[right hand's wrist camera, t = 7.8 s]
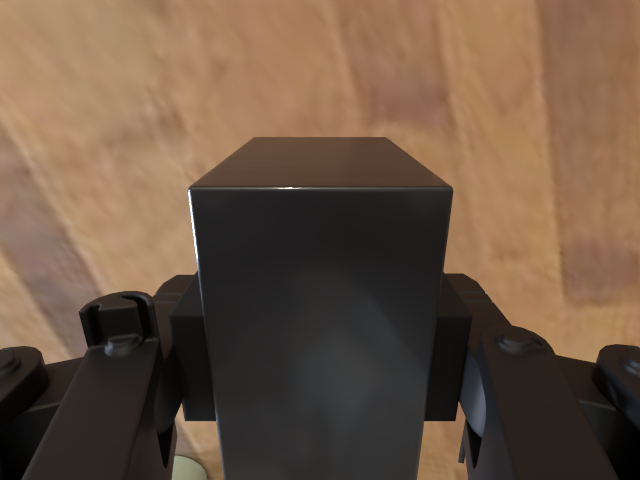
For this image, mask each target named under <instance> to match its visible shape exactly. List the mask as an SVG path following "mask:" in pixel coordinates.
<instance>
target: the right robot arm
mask: <svg viewBox="0 0 640 480" xmlns="http://www.w3.org/2000/svg"><path fill="white" fill-rule="evenodd" d="M79 315H80V319H81V323H82V326H83V330H84V334H85V338H86V342H87V346H88V350H87V352H86V354H85V356H84V357H81V358H77V359H72V360H67V361H62V362H57V363H52V364H47V365H45V363H44V360H43V357H42V353H41V352H40V351H39V350H38V349H36V348H34V347H27V346H20V347H9V348H4V349H2V350H0V480H172V473H173V465H174V457H175V449H176V441H177V432H176V425H175V420H174V419H175V417H176V414H177V412H178V410H179V407H180V405H181V403H182V406H183V412H184V418H185V421H216V413H215V405H214V397H213V389H212V381H211V373H210V365H209V357H208V349H207V341H206V333H205V325H204V317H203V309H202V301H201V293H200V285H199V277H198V271H197V272H196V274H195V275H176V276H175V277H173V278H171V279H170V280H168V281H166V282H165V283H163V284H162V286H161V287H160V288H159V289H158V291H157V292H156V293H155V295H154V296H153V297H151V296H150V295H149V294H147V293H144V292H139V291H123V292H118V293H112V294H109V295H106V296H103V297H100V298H97V299H95V300H93V301H92V302H90V303H88V304H86V305H85V306H84V307H83V308H82V309H81V310H80V311H79ZM458 402H459V403H460V405H461V407H462V409H463V412H464V414H465V416H466V420H465V425H464V431H463V437H462V442H461V448H460V453H459V461H458V462H459V463H464V459H465V456H466V464H467V472H468V480H640V348H639V347H637V346H631V345H630V346H629V345H619V344H615V345H608V346H605V347H604V348H602V349H601V350H600V352H599V355H598V358H597V361H596V363H593V362H588V361H582V360H577V359H572V358H567V357H562V356H559V355H555V353H554V351H553V349H552V347H551V346H550V345H549V344H548V343H547V341H546V340H545V339H543V338H542V337H540V336H539V335H537V334H536V333H534V332H531V331H529V330H526V329H524V328H521V327H516V326H512V325H511V324H510V323H509V321H508V320H507V319H506V318H505V316H504V315H503V314H502V313H501V311H500V310H499V309H498V308H497V306H496V305H495V304H494V303H493V302H492V300H491V299H490V297H489V296H488V295H487V294H485V291H484V290H483V289H482V287H481V286H480V285H479V284H478V282H476V281H475V280H473V279H471V278H470V277H468V276H466V275H465V274H445V273H444V272H443V277H442V285H441V293H440V301H439V309H438V316H437V324H436V332H435V340H434V348H433V356H432V364H431V372H430V380H429V387H428V395H427V403H426V411H425V419H424V421H455V420H456V414H457V408H458Z"/></svg>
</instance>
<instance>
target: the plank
mask: <svg viewBox="0 0 640 480" xmlns="http://www.w3.org/2000/svg"><path fill="white" fill-rule="evenodd" d="M188 197H189V205H190V213H191V221H192V229H193V237H194V245H195V253H196V261H197V269H198V277H199V285H200V293H201V301H202V309H203V317H204V325H205V333H206V341H207V349H208V357H209V365H210V373H211V381H212V389H213V397H214V405H215V413H216V421H217V429H218V437H219V445H220V453H221V461H222V469H223V477H224V480H417V474H418V466H419V458H420V450H421V443H422V435H423V427H424V419H425V411H426V403H427V395H428V387H429V380H430V372H431V364H432V356H433V348H434V340H435V332H436V324H437V316H438V309H439V301H440V293H441V285H442V277H443V269H444V261H445V253H446V245H447V238H448V230H449V222H450V214H451V206H452V198H453V188H452V187H451V186H450V185H449V184H447V183H446V182H445V181H443V180H442V179H441V178H439V177H438V176H437V175H435V174H434V173H433V172H431V171H430V170H429V169H427V168H426V167H425V166H423V165H422V164H421V163H420V162H418V161H417V160H416V159H414V158H413V157H412V156H410V155H409V154H408V153H406V152H405V151H404V150H402V149H401V148H400V147H398V146H397V145H396V144H394V143H393V142H392V141H390V140H389V139H388V138H386V137H254V138H252V139H251V140H250V141H248V142H247V143H246V144H245V145H243V146H242V147H241V148H239V149H238V150H237V151H235V152H234V153H233V154H231V155H230V156H229V157H228V158H226V159H225V160H224V161H222V162H221V163H220V164H218V165H217V166H216V167H215V168H213V169H212V170H211V171H209V172H208V173H207V174H205V175H204V176H203V177H201V178H200V179H199V180H198V181H196V182H195V183H194V184H192V185H191V186H190V187H189V189H188Z"/></svg>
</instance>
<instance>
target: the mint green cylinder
mask: <svg viewBox="0 0 640 480" xmlns="http://www.w3.org/2000/svg"><path fill="white" fill-rule="evenodd" d="M172 480H208V478H207V474H206V471H205V470H204V468H203V467H202V466H201V465H200V464H198V463H197V462H196V461H194V460H192V459H190V458H187V457H183V456H175V457H174V465H173V473H172Z"/></svg>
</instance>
